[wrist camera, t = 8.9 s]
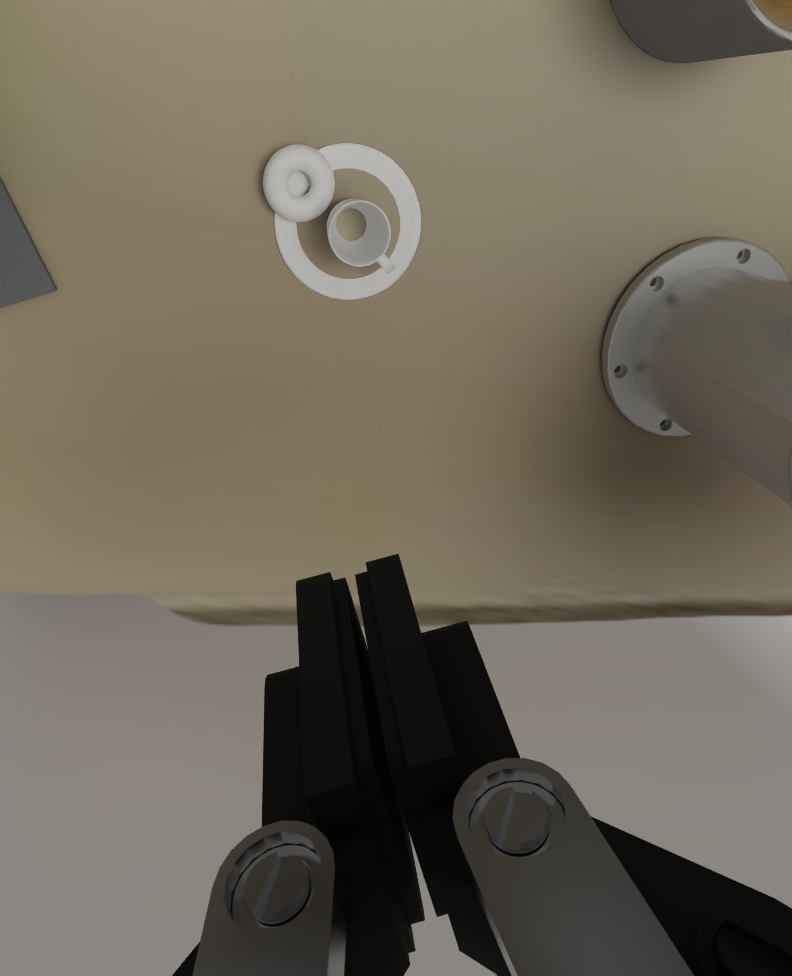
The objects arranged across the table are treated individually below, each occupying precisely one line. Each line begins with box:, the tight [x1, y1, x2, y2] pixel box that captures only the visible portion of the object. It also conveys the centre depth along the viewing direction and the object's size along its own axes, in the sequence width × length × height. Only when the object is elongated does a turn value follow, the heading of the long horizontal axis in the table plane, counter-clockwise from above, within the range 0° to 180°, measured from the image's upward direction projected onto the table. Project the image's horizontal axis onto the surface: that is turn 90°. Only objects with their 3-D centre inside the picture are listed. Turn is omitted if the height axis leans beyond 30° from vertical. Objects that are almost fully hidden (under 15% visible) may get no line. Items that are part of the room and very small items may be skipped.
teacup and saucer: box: [263, 143, 421, 300], centre depth 36 cm, size 9×8×4 cm
